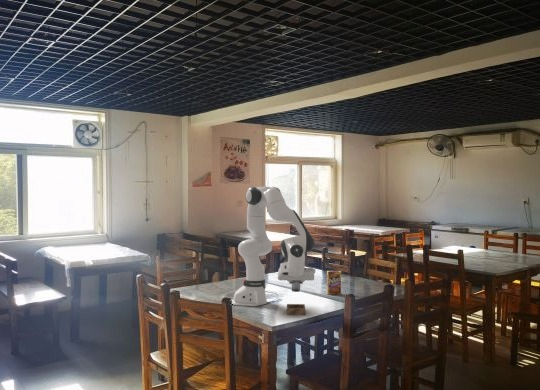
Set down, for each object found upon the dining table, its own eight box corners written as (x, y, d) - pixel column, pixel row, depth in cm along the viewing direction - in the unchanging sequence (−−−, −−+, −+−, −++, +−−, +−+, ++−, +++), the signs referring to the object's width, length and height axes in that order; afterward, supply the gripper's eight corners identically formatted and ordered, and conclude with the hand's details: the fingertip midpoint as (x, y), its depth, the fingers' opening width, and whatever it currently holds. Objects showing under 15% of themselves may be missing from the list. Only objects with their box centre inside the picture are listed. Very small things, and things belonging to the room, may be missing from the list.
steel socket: (291, 291, 260) (291, 278, 260) (291, 289, 264) (291, 276, 264) (300, 291, 259) (300, 278, 259) (300, 290, 264) (300, 276, 264)
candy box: (327, 294, 306) (327, 271, 306) (326, 293, 310) (326, 270, 310) (341, 294, 306) (341, 271, 306) (339, 293, 311) (339, 270, 311)
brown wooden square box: (286, 314, 257) (286, 308, 257) (286, 310, 267) (286, 304, 267) (305, 315, 257) (305, 308, 257) (304, 310, 267) (304, 304, 267)
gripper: (315, 263, 255) (314, 278, 264) (277, 263, 255) (278, 278, 265) (315, 273, 250) (314, 287, 260) (277, 273, 251) (277, 287, 261)
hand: (295, 282), depth 263 cm, fingers closed on steel socket, 5 cm apart
